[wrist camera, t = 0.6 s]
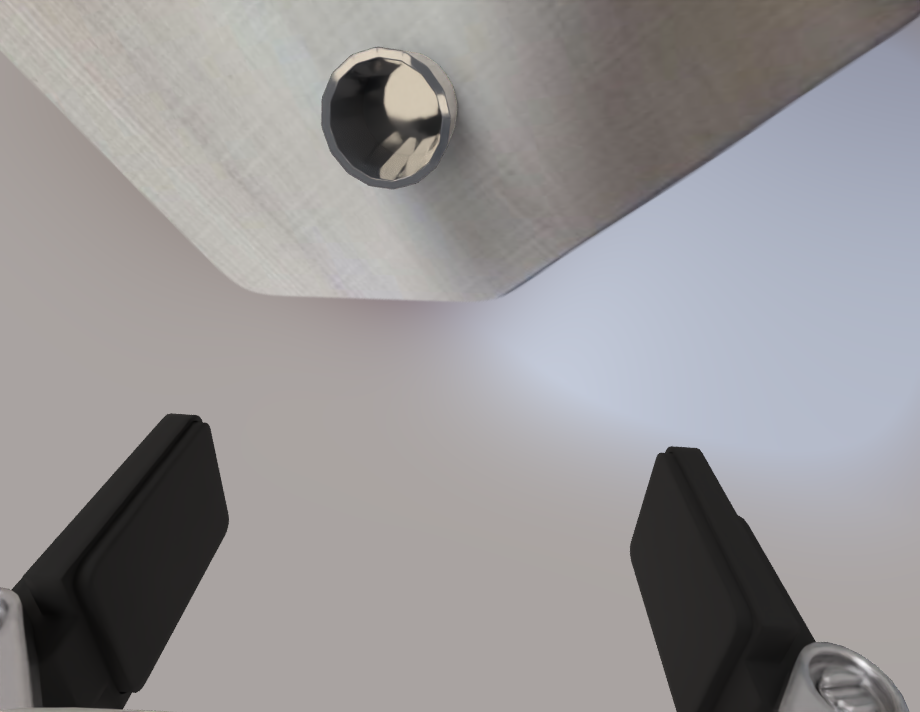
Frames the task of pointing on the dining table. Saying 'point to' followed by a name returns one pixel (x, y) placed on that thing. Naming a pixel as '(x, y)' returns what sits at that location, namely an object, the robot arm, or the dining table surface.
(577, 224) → the dining table surface
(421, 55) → the cup
